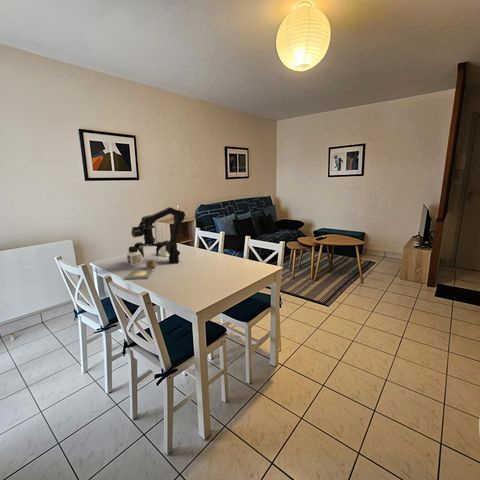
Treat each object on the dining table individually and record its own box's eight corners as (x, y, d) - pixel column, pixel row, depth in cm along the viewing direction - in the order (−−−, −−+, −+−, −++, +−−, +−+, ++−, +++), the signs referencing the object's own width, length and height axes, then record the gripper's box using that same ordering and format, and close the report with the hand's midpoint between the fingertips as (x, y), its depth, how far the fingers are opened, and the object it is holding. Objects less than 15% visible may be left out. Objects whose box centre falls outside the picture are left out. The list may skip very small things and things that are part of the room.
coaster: (153, 271, 177) (153, 269, 176) (147, 278, 163) (147, 276, 163) (132, 271, 176) (132, 270, 175) (125, 279, 162) (124, 277, 162)
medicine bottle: (172, 254, 215) (171, 240, 212) (166, 256, 209) (165, 242, 206) (165, 253, 218) (164, 239, 215) (160, 255, 212) (158, 241, 209)
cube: (155, 267, 185) (155, 260, 184) (154, 269, 180) (153, 262, 179) (148, 267, 185) (148, 260, 183) (146, 269, 180) (146, 263, 179)
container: (133, 265, 188) (131, 248, 185) (127, 263, 192) (125, 247, 189) (142, 263, 194) (141, 246, 191) (136, 261, 198) (135, 244, 195)
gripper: (164, 232, 185) (166, 253, 189) (138, 232, 184) (140, 253, 188) (161, 235, 174) (163, 257, 178) (132, 236, 173) (135, 258, 177)
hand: (150, 256), depth 180 cm, fingers open, 9 cm apart
